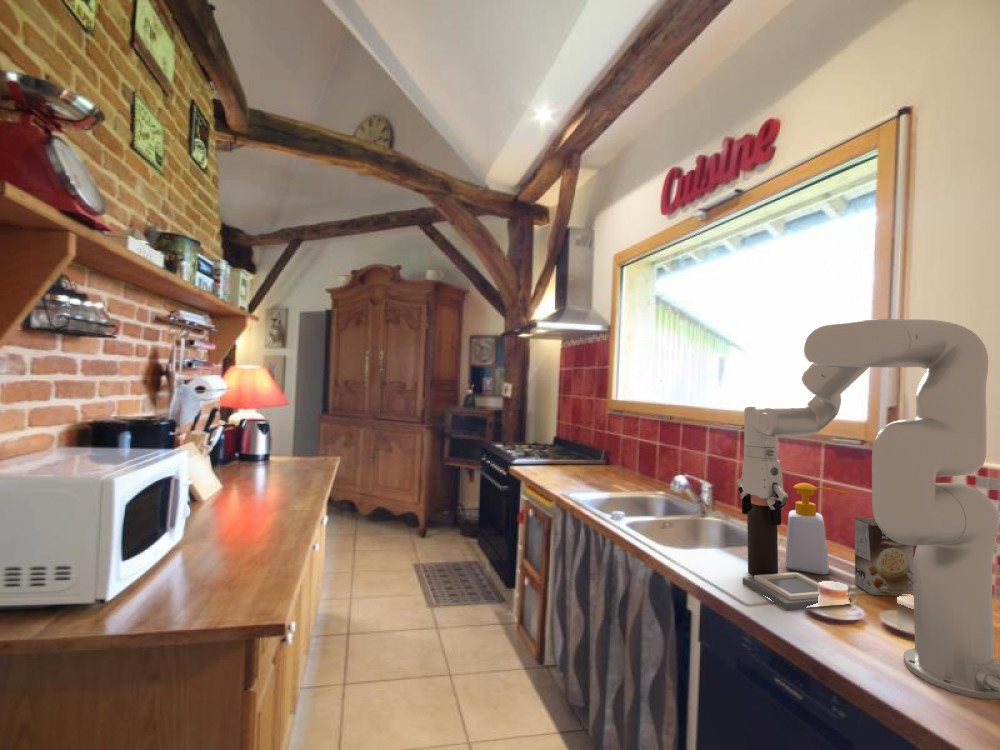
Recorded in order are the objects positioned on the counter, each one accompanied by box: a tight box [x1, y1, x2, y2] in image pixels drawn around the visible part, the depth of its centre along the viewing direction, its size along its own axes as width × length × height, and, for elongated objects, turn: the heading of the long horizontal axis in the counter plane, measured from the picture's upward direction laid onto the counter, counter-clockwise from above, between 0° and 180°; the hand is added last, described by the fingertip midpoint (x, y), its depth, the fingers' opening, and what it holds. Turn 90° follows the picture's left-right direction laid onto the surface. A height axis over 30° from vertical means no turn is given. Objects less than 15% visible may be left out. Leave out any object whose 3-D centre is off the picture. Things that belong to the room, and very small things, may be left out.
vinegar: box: [746, 495, 779, 576], centre depth 122 cm, size 7×7×20 cm
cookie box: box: [854, 517, 914, 597], centre depth 112 cm, size 9×6×16 cm
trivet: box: [742, 571, 852, 611], centre depth 110 cm, size 14×16×2 cm
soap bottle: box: [784, 482, 848, 575], centre depth 125 cm, size 10×14×22 cm
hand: (760, 519), depth 122 cm, fingers open, 9 cm apart
